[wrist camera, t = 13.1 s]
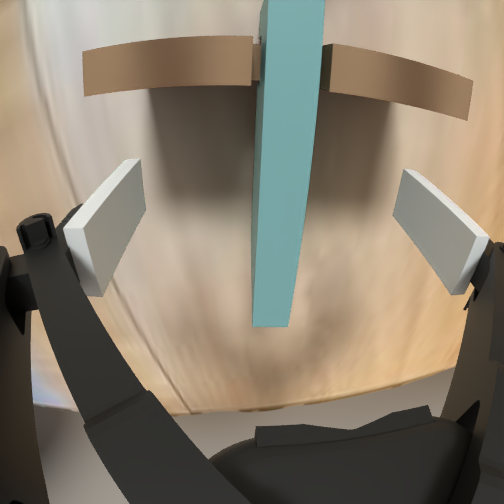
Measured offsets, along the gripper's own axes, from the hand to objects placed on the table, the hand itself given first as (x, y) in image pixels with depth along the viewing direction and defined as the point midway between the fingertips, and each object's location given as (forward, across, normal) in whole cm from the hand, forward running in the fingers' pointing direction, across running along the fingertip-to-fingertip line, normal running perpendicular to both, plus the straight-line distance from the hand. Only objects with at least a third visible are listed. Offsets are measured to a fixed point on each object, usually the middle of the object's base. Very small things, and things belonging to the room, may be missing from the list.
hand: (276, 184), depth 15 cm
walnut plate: (+12, +1, +6) cm, 13 cm away
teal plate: (+11, +1, 0) cm, 11 cm away
